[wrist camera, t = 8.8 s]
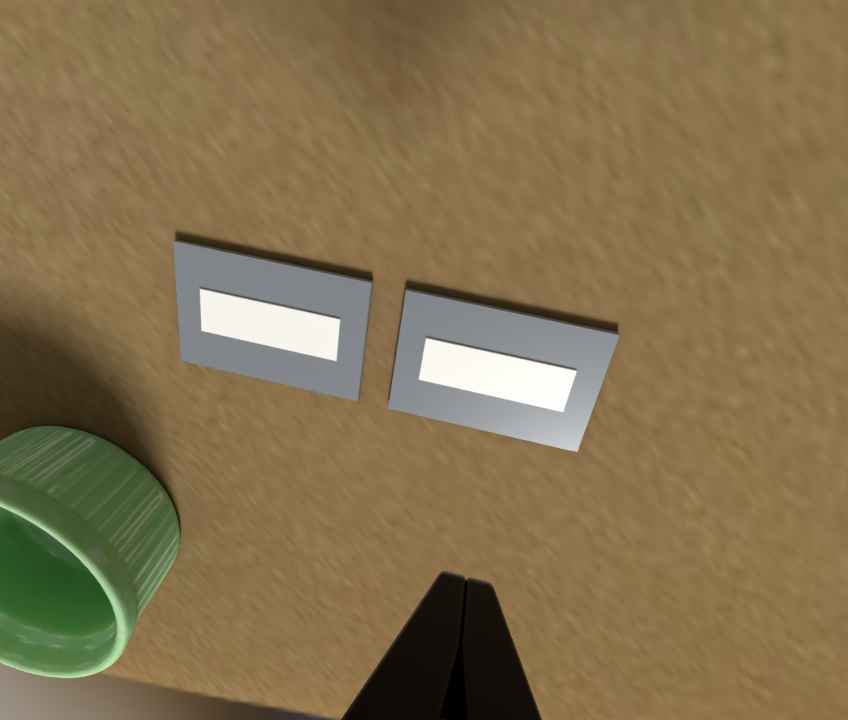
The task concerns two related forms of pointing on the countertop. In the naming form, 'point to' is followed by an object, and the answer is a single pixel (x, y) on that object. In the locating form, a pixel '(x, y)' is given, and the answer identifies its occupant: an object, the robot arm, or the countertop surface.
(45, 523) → the ramekin
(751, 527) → the countertop surface
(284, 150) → the countertop surface
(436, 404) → the label tile
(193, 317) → the label tile
